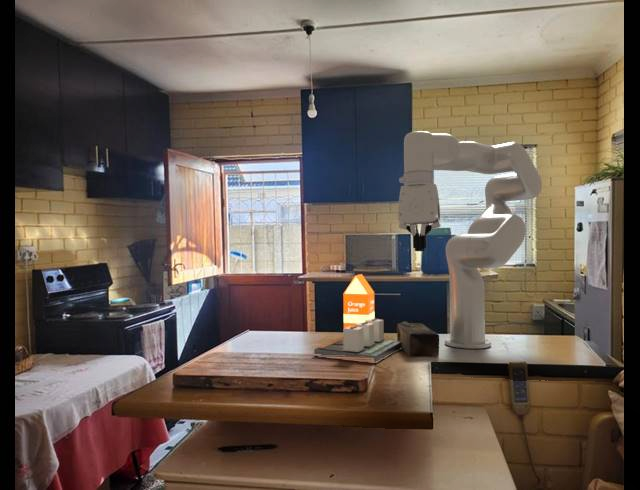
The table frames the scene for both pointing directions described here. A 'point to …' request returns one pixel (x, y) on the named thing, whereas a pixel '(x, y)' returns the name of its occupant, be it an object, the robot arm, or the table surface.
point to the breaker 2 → (377, 329)
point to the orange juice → (358, 302)
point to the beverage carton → (418, 340)
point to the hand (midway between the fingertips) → (419, 251)
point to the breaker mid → (367, 332)
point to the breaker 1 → (353, 338)
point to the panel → (374, 351)
